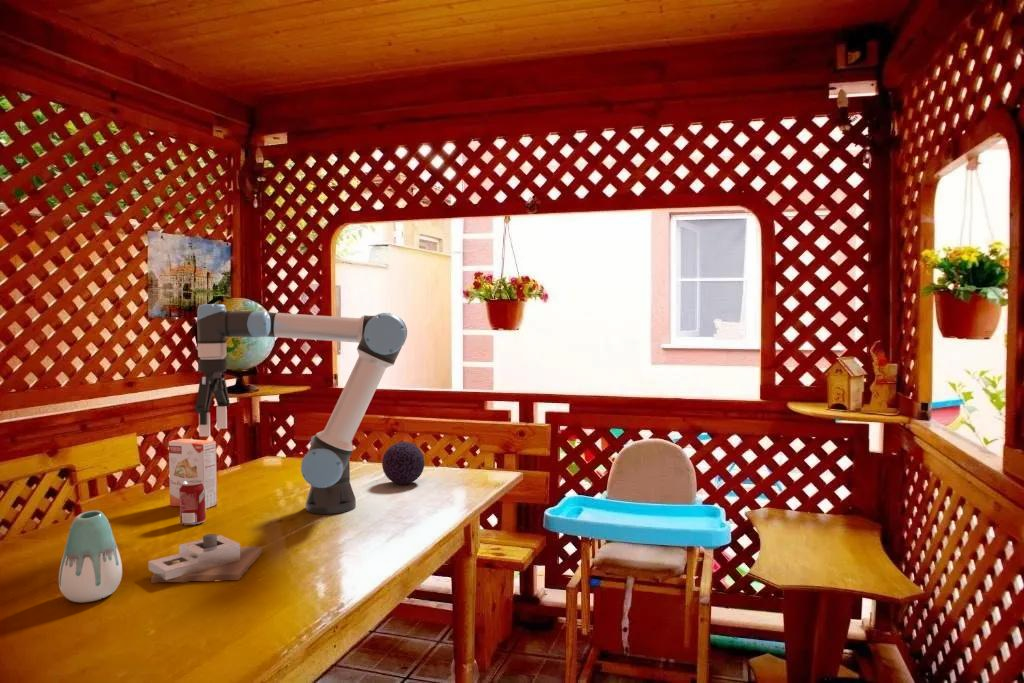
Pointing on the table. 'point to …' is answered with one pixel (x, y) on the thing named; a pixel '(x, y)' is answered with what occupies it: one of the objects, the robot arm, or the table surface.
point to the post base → (220, 572)
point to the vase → (90, 559)
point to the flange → (196, 558)
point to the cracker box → (193, 468)
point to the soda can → (192, 502)
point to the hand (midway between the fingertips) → (213, 432)
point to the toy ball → (403, 463)
